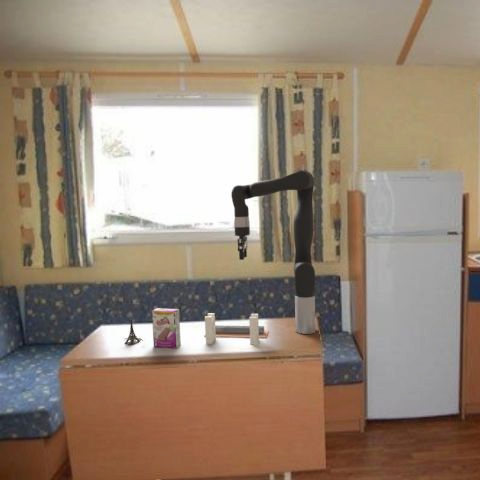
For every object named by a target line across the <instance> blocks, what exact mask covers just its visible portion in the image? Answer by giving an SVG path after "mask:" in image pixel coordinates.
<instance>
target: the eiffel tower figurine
mask: <svg viewBox="0 0 480 480" xmlns="http://www.w3.org/2000/svg"><path fill="white" fill-rule="evenodd" d="M129 320H130V325H129V326H130V329H129V330H130V331H129V333H128V334H129V335H128V336H127V338H124V340H126V341H125V342H124V345H127V344H128V346H134V345H137V344H139V342H140V341H141V340H142V339H141V338H142V337H137V335H136V334H135V331H134V326H133V317H130V319H129ZM136 340H137V341H136ZM142 341H143V340H142ZM140 343H141V342H140Z"/></svg>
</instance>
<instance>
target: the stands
mask: <svg viewBox="0 0 480 480" xmlns="http://www.w3.org/2000/svg"><path fill="white" fill-rule="evenodd" d="M215 314H216V313H214V312H213V313H212V312H210V313H207V316H206V315H205V316H204V327H205V328H204V329H205V332H204V333H205V335H206V337H205V344H210V345H212V344H213V345H214V342H215V341H216V340H217V337H216V331H215V325H216V316H215ZM249 326H250V338H249V341H250V342H249V343H250V345H254V346H255V345H257V346H258V343H259V341H260V338H259V326H260V325H259V313H251V314H250V316H249Z"/></svg>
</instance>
